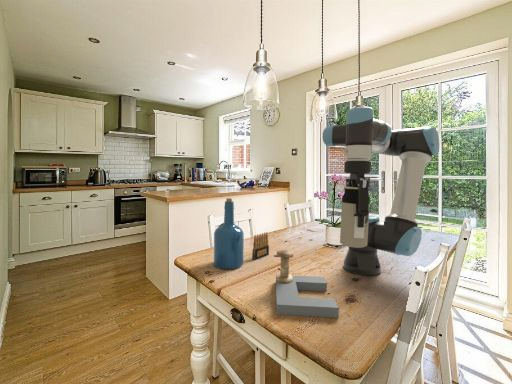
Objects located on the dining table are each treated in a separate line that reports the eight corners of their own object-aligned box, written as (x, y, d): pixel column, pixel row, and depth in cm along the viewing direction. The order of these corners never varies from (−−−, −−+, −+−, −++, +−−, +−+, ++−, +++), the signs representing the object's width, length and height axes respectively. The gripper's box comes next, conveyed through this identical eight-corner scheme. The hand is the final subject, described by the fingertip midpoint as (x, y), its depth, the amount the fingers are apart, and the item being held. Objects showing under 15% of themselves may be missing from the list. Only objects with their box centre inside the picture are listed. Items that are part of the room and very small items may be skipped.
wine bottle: (248, 267, 113) (249, 199, 110) (220, 272, 106) (221, 200, 104) (234, 257, 124) (235, 196, 122) (208, 262, 118) (209, 197, 115)
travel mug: (336, 240, 84) (338, 185, 82) (359, 240, 84) (362, 186, 83) (346, 248, 76) (349, 187, 74) (372, 248, 76) (375, 187, 75)
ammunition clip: (266, 254, 131) (266, 231, 130) (268, 255, 130) (269, 231, 129) (252, 259, 123) (252, 234, 122) (254, 260, 122) (255, 235, 121)
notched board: (323, 284, 97) (323, 276, 97) (338, 317, 75) (338, 307, 75) (275, 282, 98) (275, 274, 98) (276, 314, 76) (276, 304, 76)
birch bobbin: (291, 276, 96) (292, 250, 96) (293, 283, 90) (294, 255, 90) (275, 275, 97) (276, 249, 96) (276, 282, 91) (276, 254, 90)
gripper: (336, 161, 89) (333, 226, 90) (356, 158, 68) (352, 243, 70) (358, 161, 88) (355, 227, 90) (385, 159, 68) (380, 244, 69)
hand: (353, 234), depth 80 cm, fingers closed on travel mug, 8 cm apart
